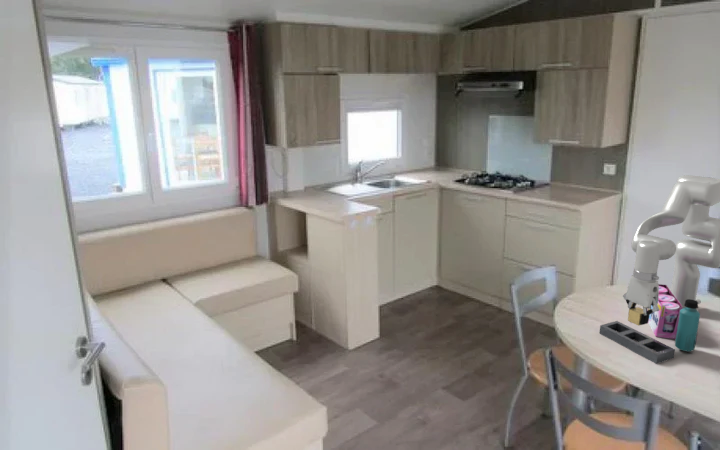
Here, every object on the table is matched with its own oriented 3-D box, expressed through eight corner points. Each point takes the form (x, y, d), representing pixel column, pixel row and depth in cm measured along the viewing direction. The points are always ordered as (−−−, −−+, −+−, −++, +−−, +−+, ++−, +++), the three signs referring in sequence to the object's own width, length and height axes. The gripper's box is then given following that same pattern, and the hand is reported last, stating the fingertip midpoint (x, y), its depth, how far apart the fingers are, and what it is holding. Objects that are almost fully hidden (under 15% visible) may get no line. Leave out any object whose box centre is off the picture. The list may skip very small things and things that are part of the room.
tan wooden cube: (636, 318, 198) (638, 307, 196) (647, 323, 194) (649, 311, 192) (627, 320, 196) (629, 309, 195) (638, 325, 192) (640, 314, 191)
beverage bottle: (694, 357, 189) (703, 306, 183) (672, 352, 192) (681, 302, 187) (694, 349, 194) (703, 299, 189) (673, 344, 198) (681, 295, 192)
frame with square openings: (615, 328, 211) (617, 320, 210) (673, 358, 188) (675, 349, 188) (599, 333, 207) (600, 325, 206) (656, 363, 185) (657, 355, 184)
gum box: (679, 341, 200) (685, 308, 196) (656, 339, 202) (661, 306, 198) (662, 314, 222) (666, 284, 218) (641, 312, 224) (645, 282, 221)
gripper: (673, 281, 184) (665, 328, 189) (632, 266, 199) (625, 310, 204) (658, 284, 181) (651, 332, 186) (617, 268, 196) (611, 313, 201)
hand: (637, 320), depth 195 cm, fingers closed on tan wooden cube, 4 cm apart
